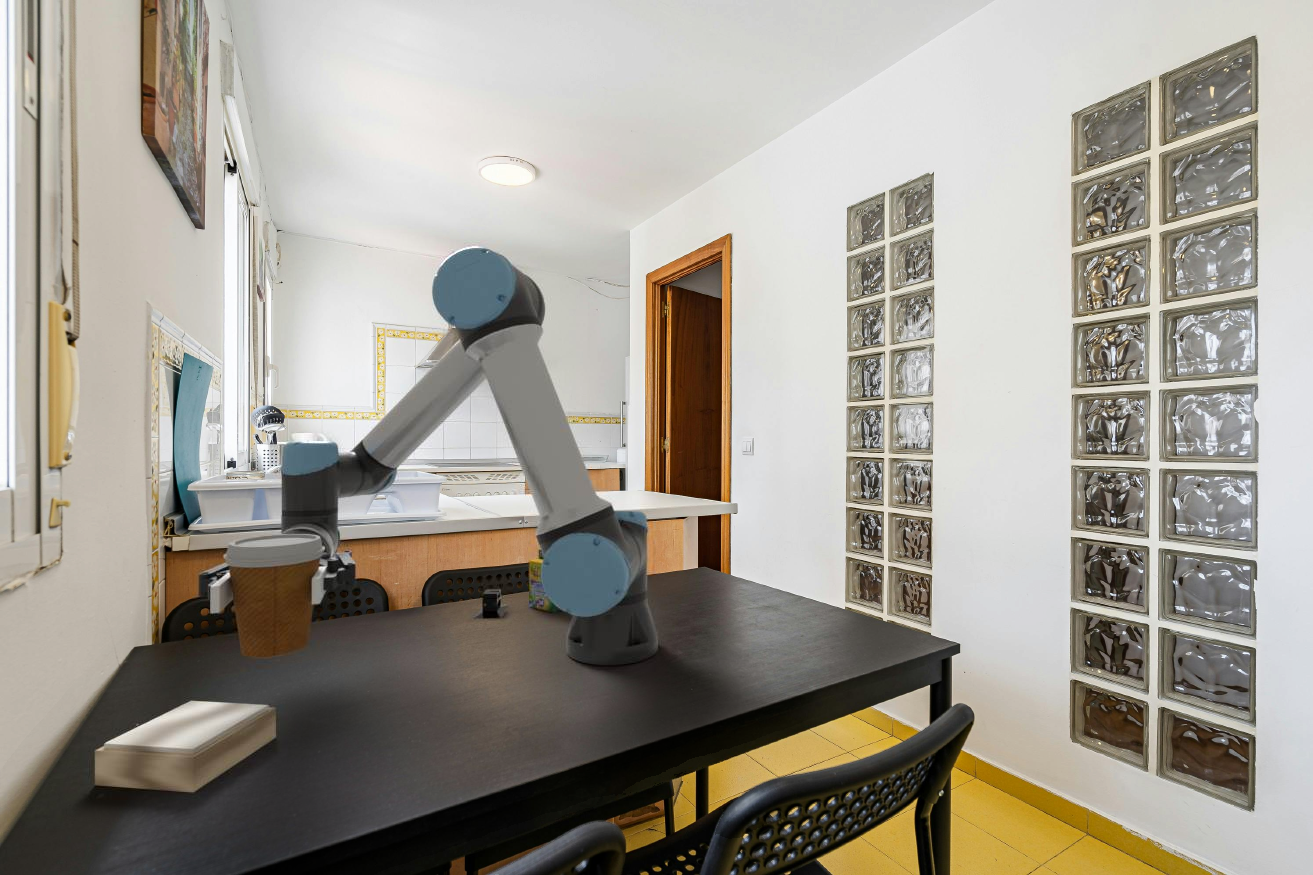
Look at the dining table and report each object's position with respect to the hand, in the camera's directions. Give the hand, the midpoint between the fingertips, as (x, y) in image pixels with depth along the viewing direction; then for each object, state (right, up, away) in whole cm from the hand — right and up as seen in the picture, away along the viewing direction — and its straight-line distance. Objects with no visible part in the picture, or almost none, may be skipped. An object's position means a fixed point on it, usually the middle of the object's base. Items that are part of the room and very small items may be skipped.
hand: (266, 595), depth 63 cm
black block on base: (+7, -19, +59) cm, 63 cm away
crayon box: (+18, -19, +61) cm, 67 cm away
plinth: (-10, -19, +3) cm, 22 cm away
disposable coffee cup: (-2, -7, +4) cm, 9 cm away
